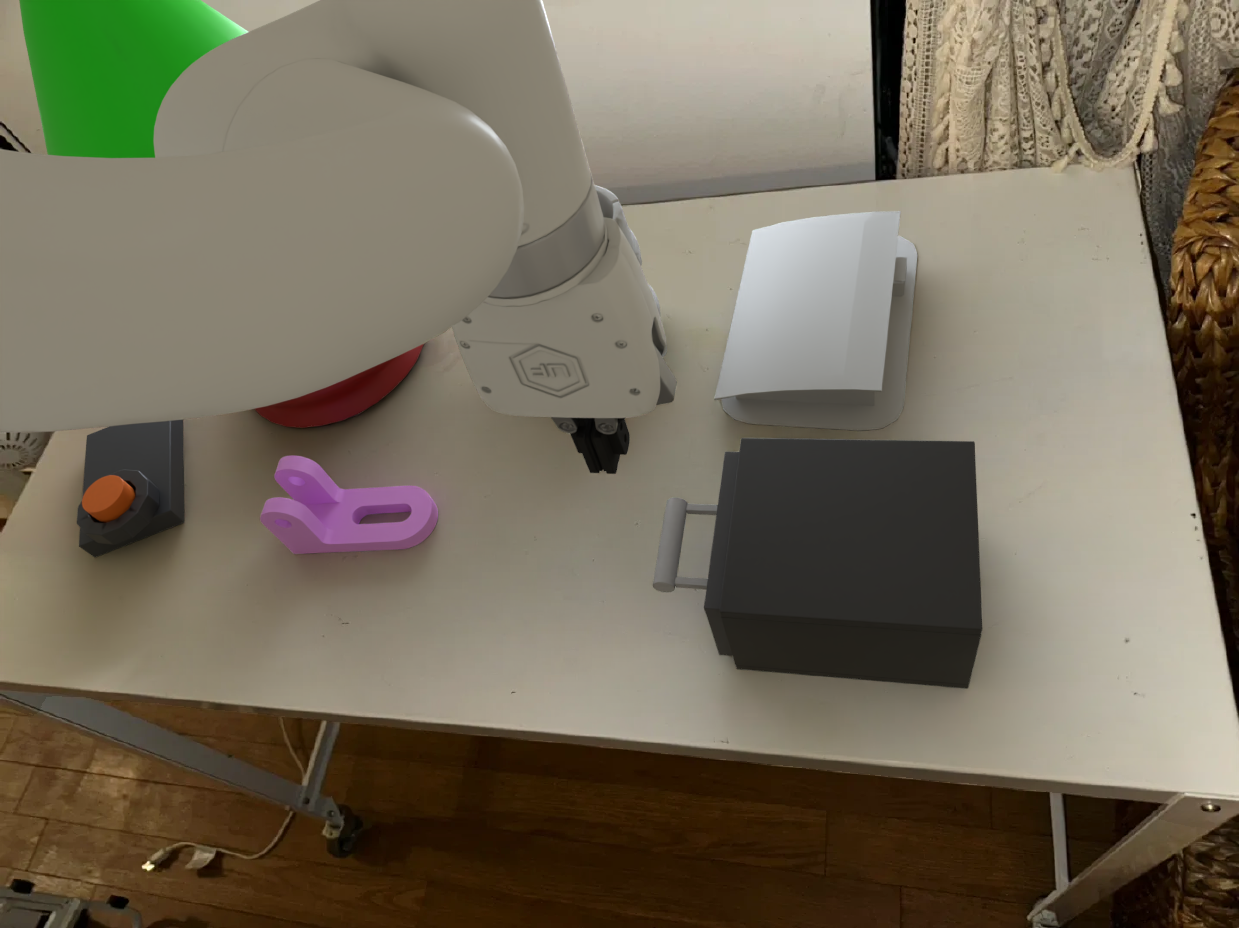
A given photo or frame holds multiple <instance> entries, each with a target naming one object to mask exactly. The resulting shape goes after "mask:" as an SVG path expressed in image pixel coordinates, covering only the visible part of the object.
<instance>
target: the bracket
mask: <svg viewBox="0 0 1239 928" xmlns="http://www.w3.org/2000/svg"><path fill="white" fill-rule="evenodd" d="M273 477H274V480H275V481H276V483H277V484H278V485H279V486H280V487H281V488H282V490H284V491H285V492H286V493H287V494H288V495H289V497H290V498H289V497H282V496H279V497H278V496H276V497H271V498H268V499H267V500H266V501H265V502H264V504H263V508H262V511H261V512H260V516H259V521H260V523H261V524H262V525H263V526H264V527H265V528H266V529H267V530H268V531H269V532H270V533H272V534H273V535H274V537H276V538H277V539H278V540H279V542H280V543H282V544H283V545H284V546H285V547H286V548H287V550H289V551H290V552H291V553H292V554H293V555H302V554H324V553H345V552H346V553H348V552H349V553H350V552H369V551H371V552H372V551H373V552H374V551H392V550H393V551H394V550H395V551H397V550H407V549H411V548H414V547H416V546H417V545H420V544H421V543H423V542H424V541H425V540H426V539H427V538H429V537H430V535H431V534H432V532H433V531H434V530H435V528H436V526H437V523H438V521H439V509H438V507H437V504H436V502H435V501H434V499H433V498H432V497H431V495H430V493H428V491H427V490H425V489H424V488H423V487H420V486H417V485H411V484H410V485H393V486H379V487H375V486H374V487H359V488H341V487H339V486H338V485H337V484H336V482H335V480H333V479H332V478H331V477H330V476H329V474H328V473H327V471H325V470H324V468H323V467H322V466H321V465H320V464H319V463H318V462H316V460H315V461H314V460H313V459H311V458H308V457H306V456H302V455H285V456H282V457H281V458H280V459H279V461H278V463H277V467H276V470H275V473H274V476H273ZM397 513H398V514H399V513H410V515H409V516H408V517H407V518H406V519H405V520H403V521H396V522H395V521H393V522H377V523H375V522H374V523H361V521H362V519H363V518H364V517H366V516H368V515H377V514H397Z"/></svg>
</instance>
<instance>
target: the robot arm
mask: <svg viewBox="0 0 1239 928" xmlns="http://www.w3.org/2000/svg"><path fill="white" fill-rule="evenodd" d="M154 151H155V158H95V157H71V156H56V155H48V154H44V153H34V152H23V151H16V150H9V149H2V148H0V433H49V432H51V433H52V432H60V431H61V432H64V431H76V430H86V429H98V428H107V427H109V426H117V425H127V424H137V423H150V422H162V421H173V420H183V421H184V420H192V419H201V418H207V417H214V416H221V415H230V414H235V413H239V412H245V411H250V410H255V408H260V407H265V406H269V405H273V404H276V403H280V402H284V401H287V400H291V399H294V398H298V397H301V396H304V395H306V394H309V393H312V392H315V391H318V390H320V389H323V388H326V387H329V386H331V385H333V384H336V383H338V382H341V381H343V380H345V379H348V378H350V377H352V376H354V375H356V374H359V373H361V372H363V371H365V370H368V369H370V368H372V367H374V366H377V365H379V364H381V363H383V362H386V361H388V360H390V359H392V358H395V357H397V356H399V355H401V354H403V353H405V352H407V351H409V350H411V349H414V348H416V347H418V346H420V345H422V344H426V343H428V342H429V341H432V340H433V339H435V338H437V337H439V336H440V335H442V334H444V333H446V332H448V331H449V330H450V329H451V330H452V332H453V336H454V339H455V341H456V345H457V347H458V350H459V352H460V356H461V358H462V360H463V363H464V365H465V368H466V370H467V372H468V373H467V374H469V377H470V379H471V381H472V383H473V385H474V386H473V387H474V388H475V390H476V391H477V394H478V396H479V397H480V399H481V401H483V403H484V404H485V406H487V407H488V408H489V409H490V410H492V411H493V412H496V413H499V414H502V415H507V416H514V417H531V418H534V417H535V418H550V419H551V420H552V422H553V423H554V425H555V426H556V428H557V429H558V431H560V432H562V433H564V434H570V437H571V439H572V441H573V444H574V446H575V449H576V451H577V453H578V454H581V455H582V458H583V459H584V462H585V465H586V466H587V470H588V471H589V473H590V474H600V472H605V473H606V474H607V475H616V474H617V472H618V469H619V468H618V467H619V464H620V463H619V462H620V458H621V456H626V455H627V454H628V452H629V448H630V443H631V442H630V441H631V439H630V438H631V434H630V430H629V427H628V425H627V422H626V419H628V418H629V419H630V418H636V417H637V418H638V417H641V416H644V415H647V414H649V413H651V412H653V411H654V410H655V409H656V407H657V406H660V405H665V404H671V403H673V402H674V400H675V395H676V390H677V385H678V380H677V378H676V376H675V375H674V374H673V372H672V370H671V368H670V367H669V366H668V363H667V362H666V361H665V359H664V357H665V356H666V355H667V353H668V342H667V336H666V332H665V328H664V324H663V322H662V317H660V315H659V312H658V309H657V305H656V303H655V300H654V297H653V294H652V292H651V289H650V287H649V285H650V284H649V282H648V279H647V277H646V275H645V271H644V270H643V267H642V265H640V263H639V261H638V259H637V257H636V255H635V253H634V251H633V249H632V248H631V246H630V244H629V242H628V240H627V239H626V237H625V235H624V234H623V232H622V230H621V229H620V227H619V226H618V224H617V223H616V221H615V220H614V219H611V218H606V217H603V213H602V210H601V206H600V202H599V199H598V195H597V192H596V188H595V185H596V184H595V182H594V178H593V174H592V170H591V167H590V164H589V160H588V157H587V154H586V149H585V145H584V142H583V139H582V136H581V133H580V128H579V125H578V121H577V118H576V114H575V111H574V107H573V103H572V100H571V97H570V93H569V89H568V85H567V82H566V79H565V75H564V72H563V68H562V64H561V61H560V58H559V54H558V50H557V47H556V44H555V41H554V37H553V33H552V29H551V27H550V23H549V19H548V16H547V12H546V9H545V5H544V1H543V0H318V1H315V2H313V3H311V4H308V5H307V6H304V7H302V8H299V9H297V10H296V11H293V12H292V13H289V14H287V15H284V16H283V17H280V18H277V19H275V20H273V21H270V22H268V23H266V24H264V25H262V26H258V27H257V28H255V29H251V30H250V31H248V32H247V33H245V34H243V35H241V36H238V37H236V38H234V39H232V40H229V41H228V42H226V43H224V44H222V45H220V46H218V47H216V48H214V49H213V50H211V51H209V52H208V53H206V54H205V55H203V56H202V57H200V58H199V59H198V60H196V61H195V62H194V63H192V64H191V65H190V66H189V67H188V68H187V69H186V70H185V71H184V72H183V73H182V74H181V75H180V76H179V77H178V78H177V80H176V81H175V82H174V83H173V84H172V85H171V87H170V89H169V90H168V92H167V94H166V95H165V97H164V99H163V101H162V103H161V106H160V108H159V111H158V114H157V118H156V122H155V127H154ZM641 267H642V268H641Z"/></svg>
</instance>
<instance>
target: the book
mask: <svg viewBox="0 0 1239 928" xmlns="http://www.w3.org/2000/svg"><path fill="white" fill-rule="evenodd" d="M901 212H902V211H901V210H889V211H888V210H884V211H883V210H881V211H879V210H878V211H864V212H851V213H849V212H848V213H839V214H830V215H829V214H828V215H820V216H811V217H806V218H800V219H799V218H798V219H794V220H788V221H782V222H778V223H774V224H771V225H767V226H763V227H759V228H755V229H752V230H751V235H750V239H749V243H748V248H747V252H746V256H745V262H744V266H743V270H742V274H741V279H740V282H739V288H738V292H737V297H736V301H735V305H734V310H733V314H732V319H731V324H730V328H729V333H728V336H727V340H726V345H725V350H724V354H723V359H722V363H721V367H720V373H719V377H718V381H717V385H716V389H715V394H714V397H713V398H714V401H717V400H721V404H722V410H723V411H724V412H725V413H726V414H727V415H728V416H729V417H731V418H732V419H733V420H735V421H739V422H741V423H746V424H750V425H761V426H775V427H776V426H777V427H793V428H794V427H795V428H809V429H810V428H811V429H825V430H842V431H857V432H867V431H871V430H872V431H874V430H881V429H884V428H886V427H887V426H889V425H891V424H893V423H895V422H896V421H897V420H898V419H899V417H900V415H901V414H902V411H903V410H904V407H905V397H906V387H907V386H906V385H907V377H908V363H909V353H910V343H911V342H910V341H911V332H912V331H911V330H912V322H913V321H912V320H913V311H914V296H915V288H916V287H915V286H916V275H917V265H918V251H917V249H916V246H915V243H913V242H911V241H910V240H908V239H907V238H905V237H903V236H901V235H899V234H900V233H899V232H900V224H901V214H902V213H901Z"/></svg>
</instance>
